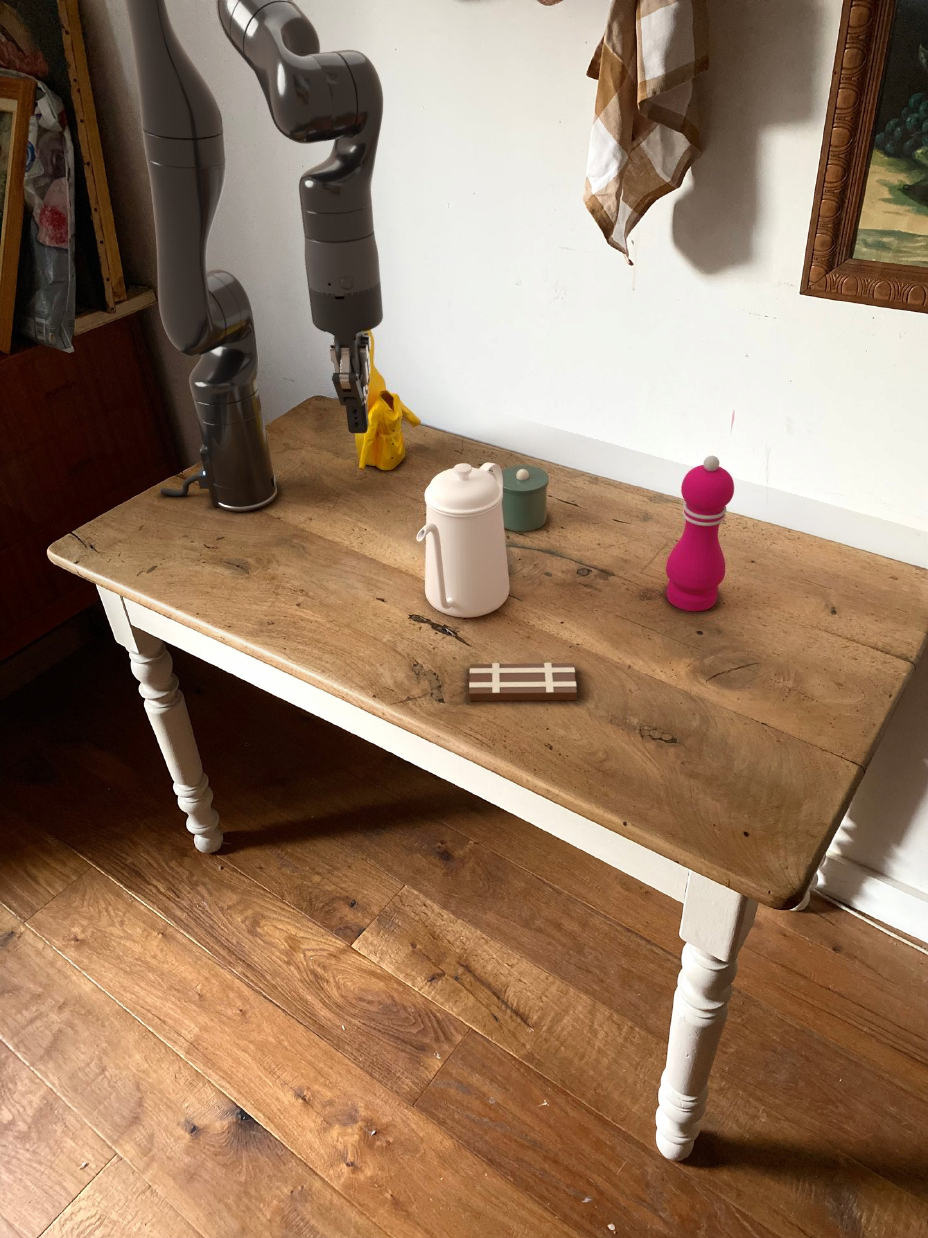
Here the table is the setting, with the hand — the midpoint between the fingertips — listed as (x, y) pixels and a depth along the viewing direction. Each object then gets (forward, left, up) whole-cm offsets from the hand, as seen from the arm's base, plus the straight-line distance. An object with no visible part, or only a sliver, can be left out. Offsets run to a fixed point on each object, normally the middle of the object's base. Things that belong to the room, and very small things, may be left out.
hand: (358, 430), depth 105 cm
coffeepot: (+12, -1, -23) cm, 26 cm away
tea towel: (+18, -18, -23) cm, 35 cm away
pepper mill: (+40, -2, -23) cm, 47 cm away
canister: (+19, +18, -23) cm, 35 cm away
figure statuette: (-3, +36, -23) cm, 43 cm away
